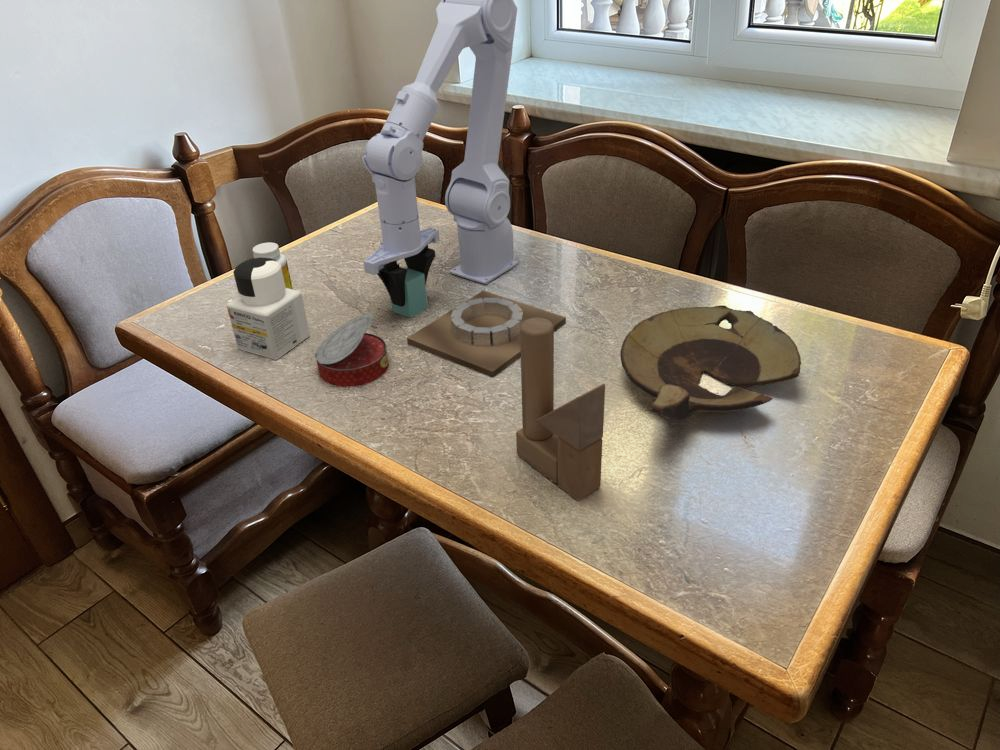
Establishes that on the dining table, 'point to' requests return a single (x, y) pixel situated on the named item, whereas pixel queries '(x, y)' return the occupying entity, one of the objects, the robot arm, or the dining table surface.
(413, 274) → the teal peg
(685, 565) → the dining table surface
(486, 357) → the walnut board
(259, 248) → the supplement bottle
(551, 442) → the wooden block
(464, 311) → the steel collar
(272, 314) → the container
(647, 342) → the broken plate
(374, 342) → the canned food
